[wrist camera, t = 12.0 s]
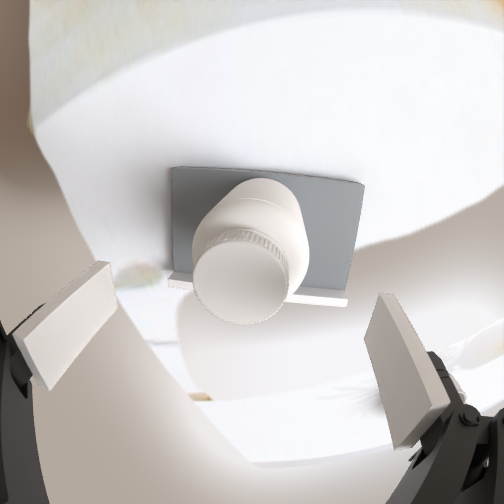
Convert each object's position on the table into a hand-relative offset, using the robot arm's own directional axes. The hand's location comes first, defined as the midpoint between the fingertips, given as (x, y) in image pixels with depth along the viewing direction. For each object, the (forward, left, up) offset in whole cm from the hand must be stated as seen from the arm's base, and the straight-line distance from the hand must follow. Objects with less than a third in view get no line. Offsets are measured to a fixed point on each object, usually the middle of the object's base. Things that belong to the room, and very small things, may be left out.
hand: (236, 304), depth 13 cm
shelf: (+2, 0, -19) cm, 19 cm away
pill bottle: (0, 0, -17) cm, 17 cm away
